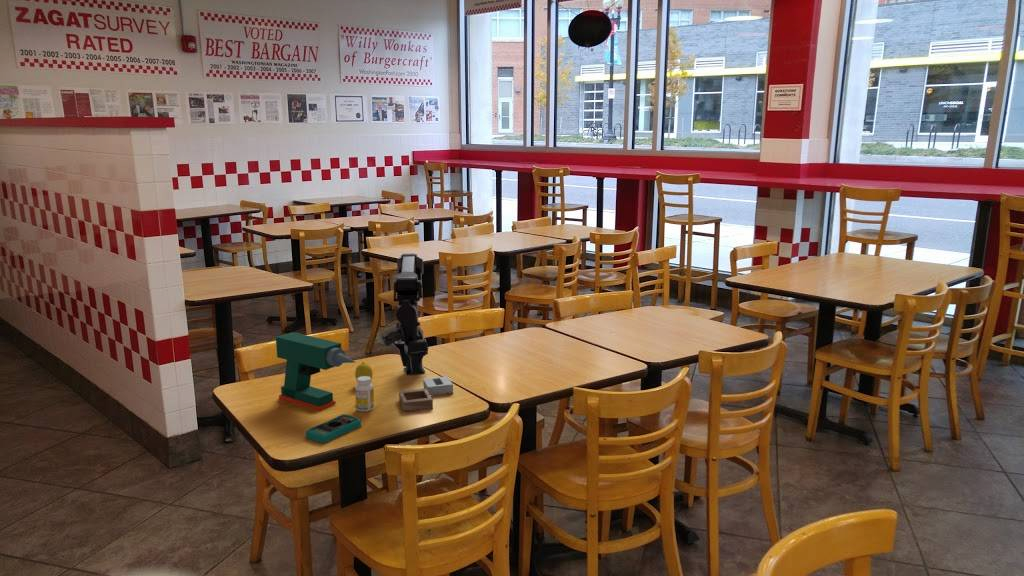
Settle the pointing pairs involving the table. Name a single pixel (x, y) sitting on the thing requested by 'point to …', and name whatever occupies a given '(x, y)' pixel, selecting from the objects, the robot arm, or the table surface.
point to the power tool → (307, 368)
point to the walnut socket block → (415, 400)
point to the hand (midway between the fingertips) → (409, 369)
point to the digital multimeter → (333, 428)
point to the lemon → (363, 370)
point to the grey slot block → (438, 385)
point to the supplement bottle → (364, 394)
